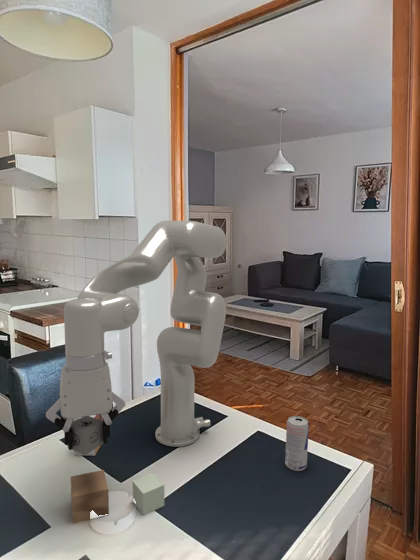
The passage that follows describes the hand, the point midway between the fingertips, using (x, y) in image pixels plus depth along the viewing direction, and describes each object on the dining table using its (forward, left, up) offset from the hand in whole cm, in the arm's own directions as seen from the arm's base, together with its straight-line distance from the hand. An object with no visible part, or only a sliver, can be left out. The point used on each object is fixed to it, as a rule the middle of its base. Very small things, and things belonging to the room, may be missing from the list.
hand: (87, 442), depth 83 cm
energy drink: (-50, +2, -15) cm, 52 cm away
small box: (-2, -24, -15) cm, 28 cm away
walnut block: (0, 0, -15) cm, 15 cm away
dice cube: (0, 0, -1) cm, 1 cm away
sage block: (-12, +3, -15) cm, 19 cm away
